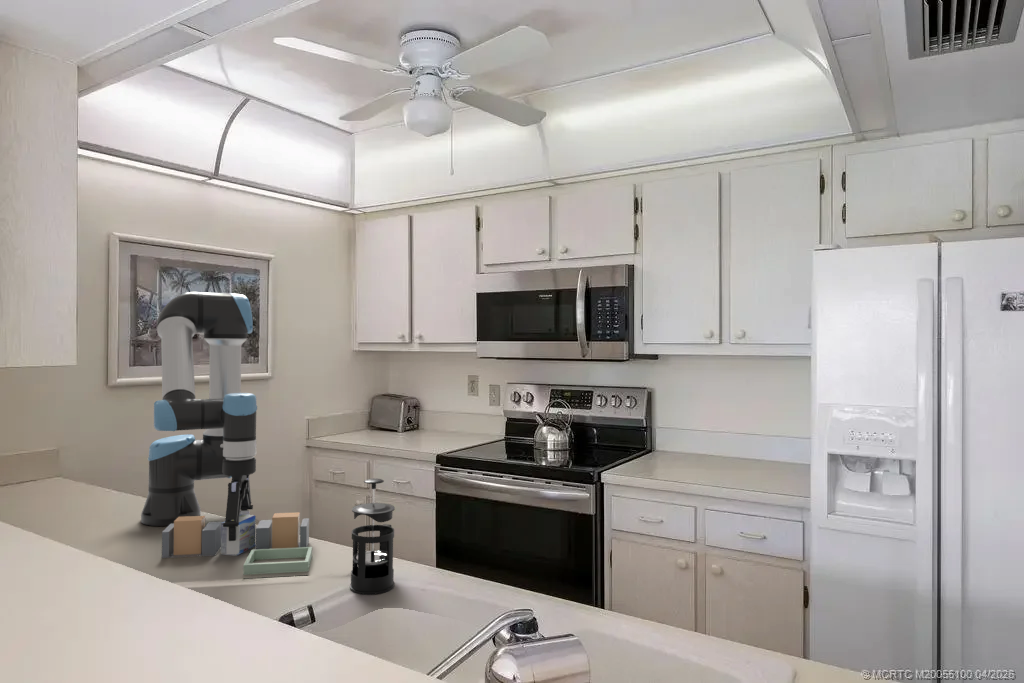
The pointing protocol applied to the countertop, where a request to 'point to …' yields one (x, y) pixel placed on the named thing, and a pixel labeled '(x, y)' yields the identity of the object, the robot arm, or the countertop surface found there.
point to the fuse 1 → (188, 535)
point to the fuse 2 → (285, 530)
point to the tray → (277, 566)
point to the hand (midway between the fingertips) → (238, 545)
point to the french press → (375, 565)
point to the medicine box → (241, 534)
